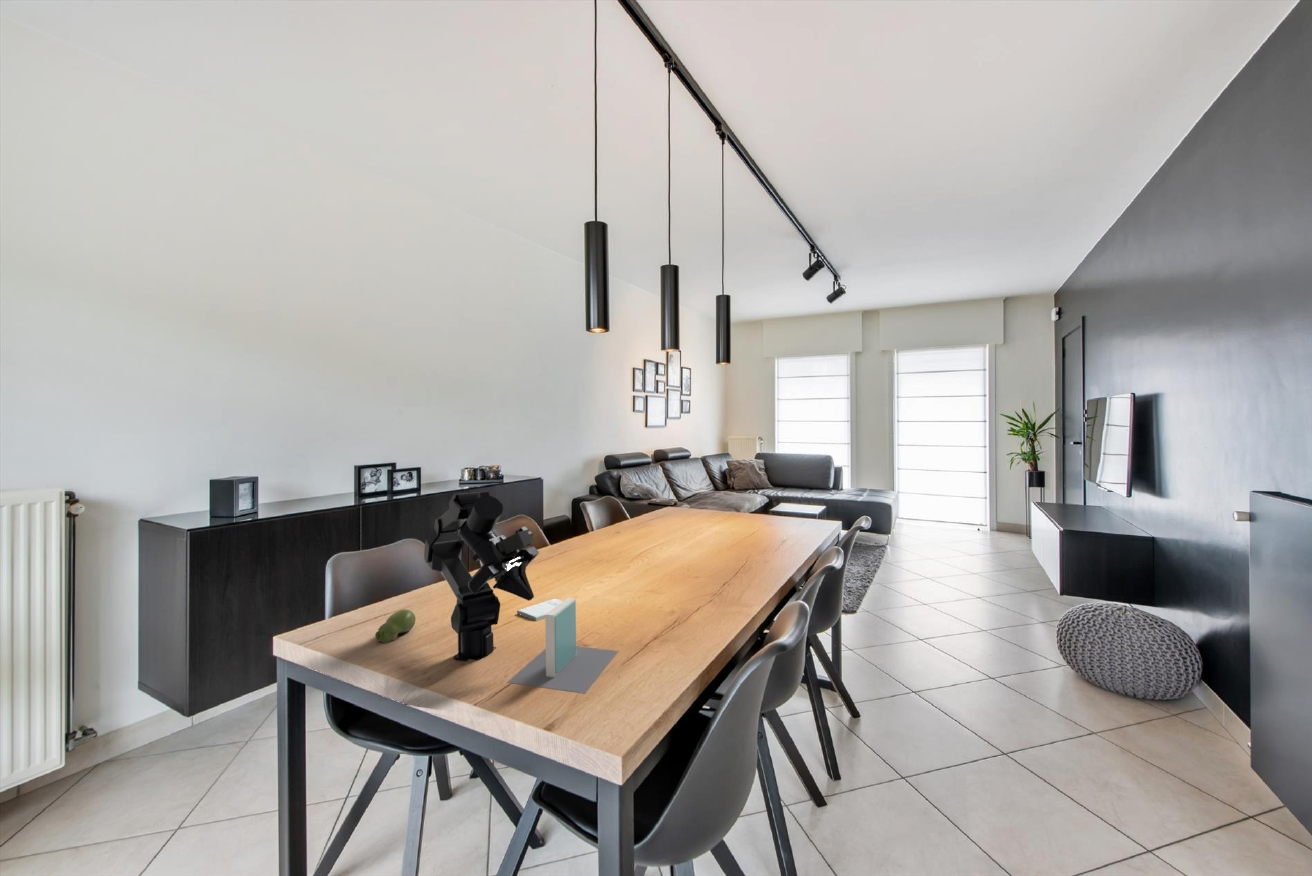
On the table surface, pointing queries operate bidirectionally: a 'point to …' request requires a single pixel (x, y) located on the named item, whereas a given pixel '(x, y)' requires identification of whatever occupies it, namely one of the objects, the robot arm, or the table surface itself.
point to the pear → (396, 625)
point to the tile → (560, 636)
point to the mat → (567, 671)
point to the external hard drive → (539, 609)
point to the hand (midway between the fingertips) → (531, 598)
